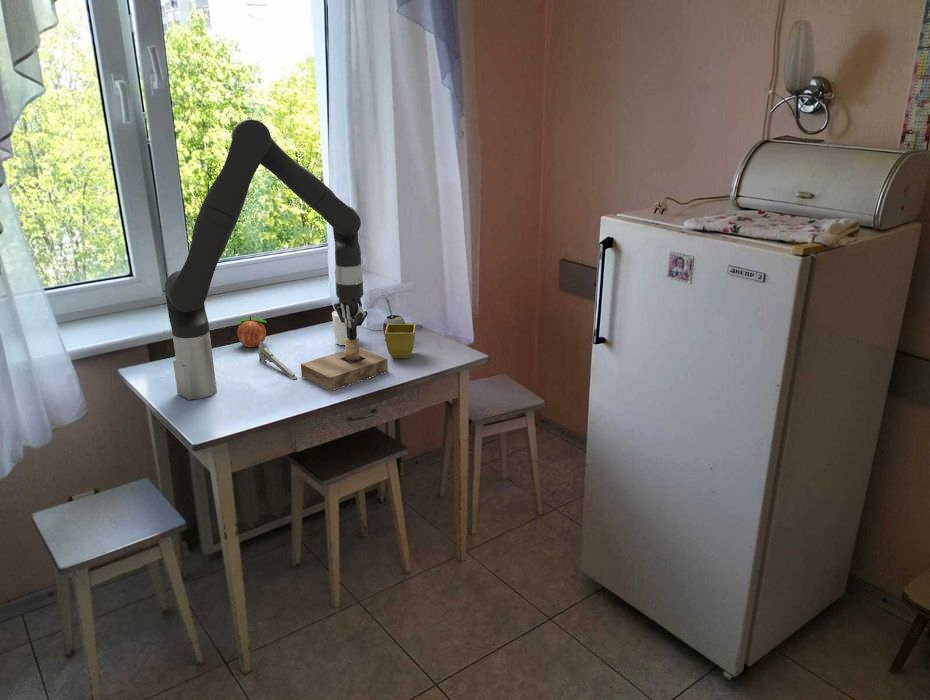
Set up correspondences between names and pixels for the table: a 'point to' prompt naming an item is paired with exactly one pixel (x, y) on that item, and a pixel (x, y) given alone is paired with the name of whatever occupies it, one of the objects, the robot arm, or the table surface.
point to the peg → (352, 350)
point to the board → (343, 369)
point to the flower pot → (400, 339)
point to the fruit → (251, 331)
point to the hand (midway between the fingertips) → (352, 338)
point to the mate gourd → (392, 318)
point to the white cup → (339, 329)
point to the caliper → (273, 360)
